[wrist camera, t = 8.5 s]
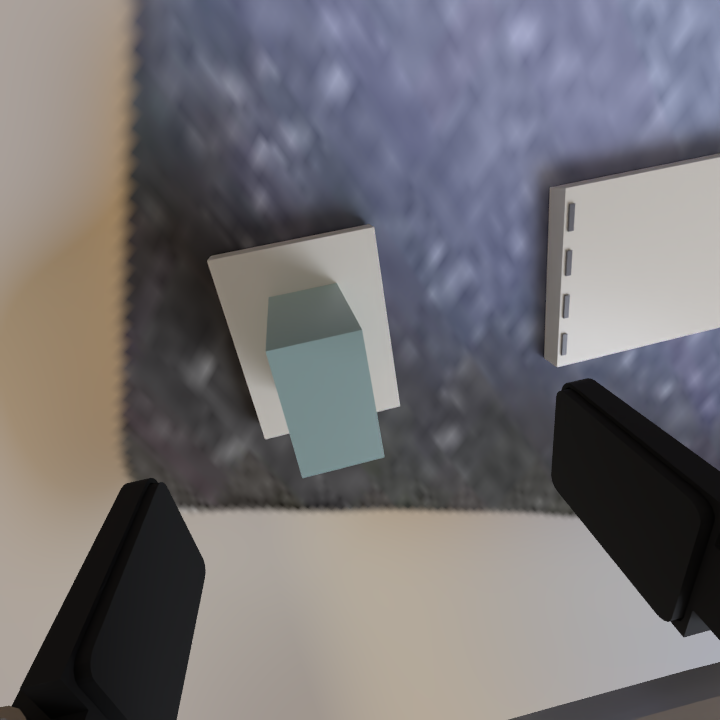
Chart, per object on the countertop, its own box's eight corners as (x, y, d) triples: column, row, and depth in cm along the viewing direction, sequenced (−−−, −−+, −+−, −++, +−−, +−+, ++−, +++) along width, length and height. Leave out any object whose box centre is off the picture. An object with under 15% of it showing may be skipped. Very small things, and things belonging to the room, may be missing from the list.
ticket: (549, 187, 19) (567, 188, 18) (756, 145, 20) (786, 144, 19) (544, 358, 23) (558, 368, 22) (718, 316, 24) (740, 323, 23)
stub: (210, 255, 18) (174, 302, 11) (368, 224, 18) (417, 251, 12) (265, 427, 22) (261, 532, 15) (394, 395, 22) (441, 485, 16)
